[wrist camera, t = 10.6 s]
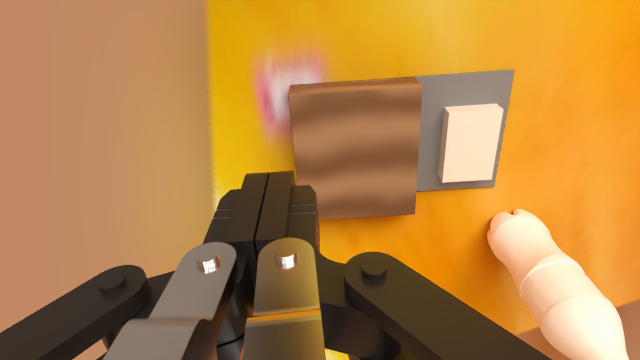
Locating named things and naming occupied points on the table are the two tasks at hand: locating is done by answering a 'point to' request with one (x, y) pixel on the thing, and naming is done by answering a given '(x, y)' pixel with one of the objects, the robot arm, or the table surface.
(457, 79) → the mat
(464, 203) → the table surface
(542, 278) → the water bottle
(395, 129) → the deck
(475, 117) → the white flat block
